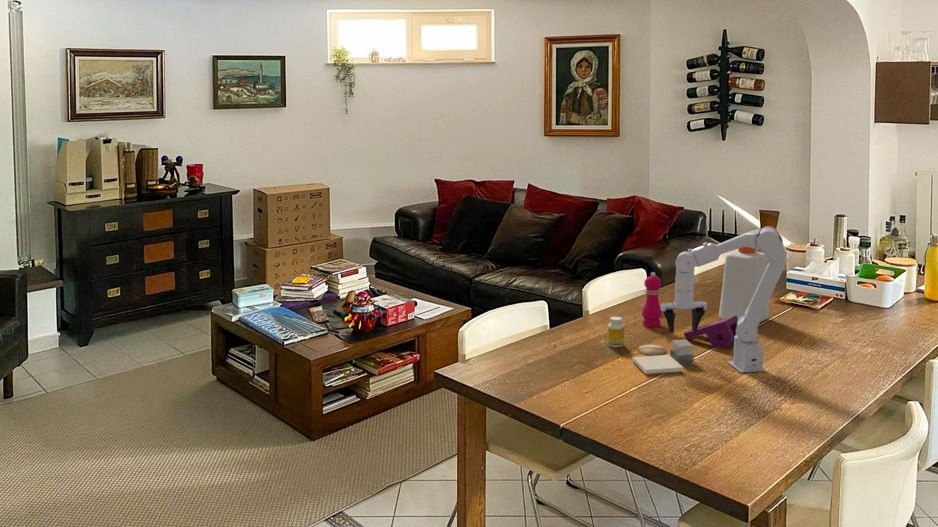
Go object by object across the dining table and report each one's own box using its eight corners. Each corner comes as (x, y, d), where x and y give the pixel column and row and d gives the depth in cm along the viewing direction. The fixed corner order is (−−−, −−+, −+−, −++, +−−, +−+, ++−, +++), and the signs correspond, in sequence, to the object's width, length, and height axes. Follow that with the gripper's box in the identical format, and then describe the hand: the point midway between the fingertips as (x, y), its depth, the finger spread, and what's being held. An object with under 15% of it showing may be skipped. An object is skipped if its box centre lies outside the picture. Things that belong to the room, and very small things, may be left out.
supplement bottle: (605, 343, 279) (606, 316, 277) (621, 342, 280) (621, 315, 277) (609, 347, 274) (609, 320, 272) (625, 347, 274) (625, 320, 272)
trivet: (683, 372, 249) (683, 367, 249) (645, 375, 248) (645, 369, 247) (668, 360, 261) (668, 354, 260) (632, 362, 259) (632, 357, 259)
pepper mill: (637, 323, 300) (638, 271, 296) (653, 321, 303) (655, 269, 299) (649, 329, 294) (651, 275, 290) (665, 326, 297) (667, 272, 292)
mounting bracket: (687, 358, 280) (734, 345, 268) (678, 335, 281) (724, 321, 269) (700, 351, 287) (745, 338, 275) (691, 328, 288) (736, 315, 276)
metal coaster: (669, 354, 266) (669, 352, 266) (643, 355, 265) (643, 354, 265) (660, 345, 275) (660, 344, 275) (634, 347, 274) (634, 345, 274)
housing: (693, 363, 257) (694, 345, 256) (678, 364, 257) (679, 346, 255) (685, 356, 264) (685, 339, 263) (670, 357, 263) (670, 340, 262)
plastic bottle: (736, 311, 314) (740, 240, 308) (772, 319, 303) (777, 245, 297) (714, 318, 305) (717, 245, 299) (750, 327, 293) (754, 251, 287)
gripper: (701, 285, 260) (699, 326, 263) (657, 288, 258) (656, 329, 261) (710, 291, 253) (708, 332, 256) (665, 293, 251) (664, 335, 254)
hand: (682, 331), depth 258 cm, fingers open, 7 cm apart
